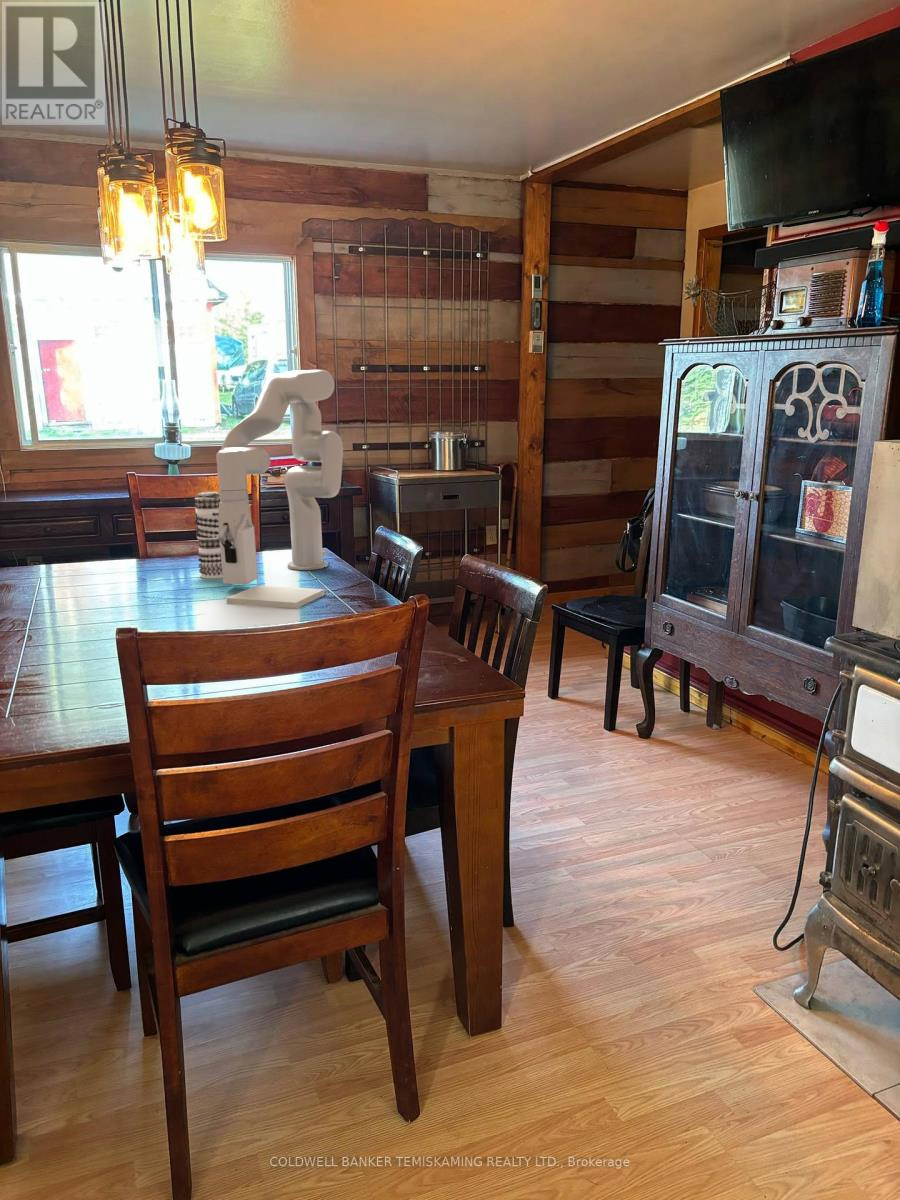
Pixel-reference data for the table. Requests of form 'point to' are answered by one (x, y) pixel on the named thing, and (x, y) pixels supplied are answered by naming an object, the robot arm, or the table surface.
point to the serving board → (276, 596)
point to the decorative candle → (208, 534)
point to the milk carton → (241, 556)
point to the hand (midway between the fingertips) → (239, 559)
